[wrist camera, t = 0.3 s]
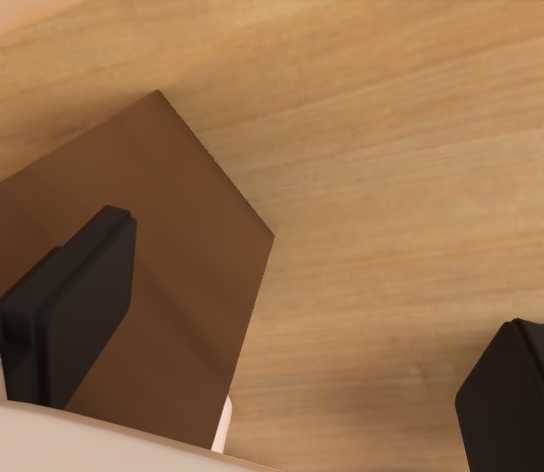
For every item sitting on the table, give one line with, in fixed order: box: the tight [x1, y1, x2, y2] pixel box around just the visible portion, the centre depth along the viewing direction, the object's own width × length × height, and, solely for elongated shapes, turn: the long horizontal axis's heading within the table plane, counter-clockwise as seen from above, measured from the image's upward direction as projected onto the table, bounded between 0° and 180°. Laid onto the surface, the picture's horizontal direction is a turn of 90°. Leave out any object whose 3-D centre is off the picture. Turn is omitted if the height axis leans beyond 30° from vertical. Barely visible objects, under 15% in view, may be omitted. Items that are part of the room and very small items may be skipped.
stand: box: [0, 90, 275, 450], centre depth 18 cm, size 10×10×20 cm
